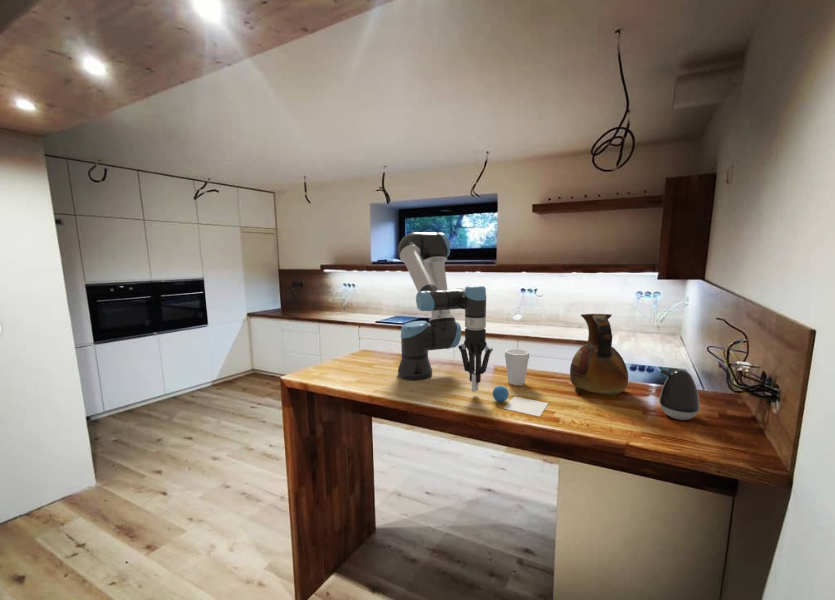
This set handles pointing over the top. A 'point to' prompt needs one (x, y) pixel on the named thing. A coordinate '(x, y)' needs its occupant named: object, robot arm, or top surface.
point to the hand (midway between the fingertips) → (475, 390)
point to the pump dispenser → (679, 395)
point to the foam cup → (516, 365)
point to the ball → (500, 393)
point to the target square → (526, 406)
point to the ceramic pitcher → (599, 360)
